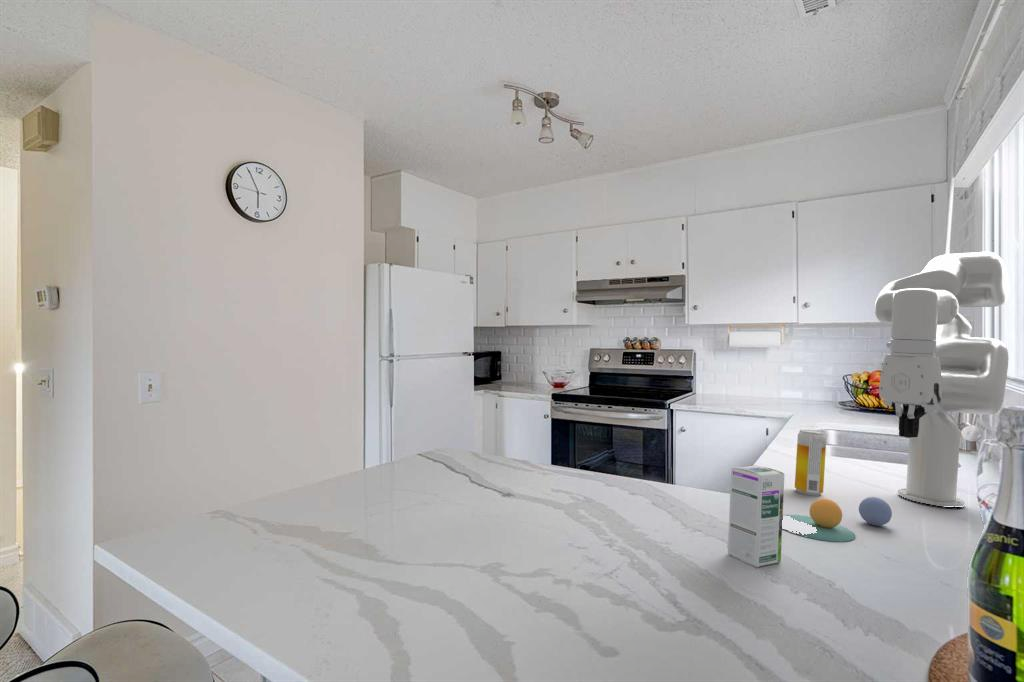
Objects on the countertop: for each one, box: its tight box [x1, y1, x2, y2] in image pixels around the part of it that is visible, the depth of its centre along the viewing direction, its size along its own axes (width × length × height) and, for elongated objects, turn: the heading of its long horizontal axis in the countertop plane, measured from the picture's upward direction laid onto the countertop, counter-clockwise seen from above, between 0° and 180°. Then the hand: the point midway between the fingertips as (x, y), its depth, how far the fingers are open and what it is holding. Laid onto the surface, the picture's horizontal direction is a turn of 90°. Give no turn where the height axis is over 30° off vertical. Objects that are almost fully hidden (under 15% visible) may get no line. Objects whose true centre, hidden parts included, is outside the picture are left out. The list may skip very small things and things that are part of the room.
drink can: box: [794, 429, 827, 497], centre depth 128 cm, size 6×6×15 cm
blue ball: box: [858, 496, 893, 527], centre depth 106 cm, size 6×6×6 cm
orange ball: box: [809, 498, 843, 528], centre depth 102 cm, size 6×6×6 cm
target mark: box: [785, 514, 857, 543], centre depth 102 cm, size 14×14×1 cm
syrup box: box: [727, 464, 785, 568], centre depth 85 cm, size 6×6×14 cm
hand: (908, 436), depth 109 cm, fingers closed
